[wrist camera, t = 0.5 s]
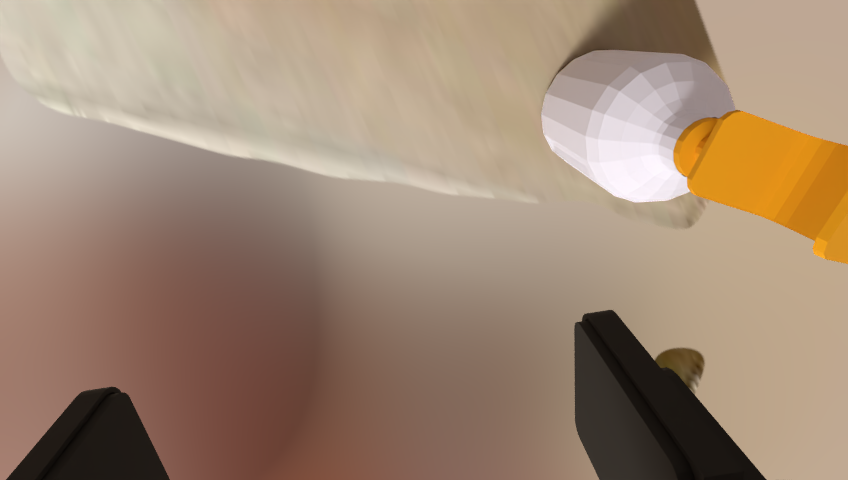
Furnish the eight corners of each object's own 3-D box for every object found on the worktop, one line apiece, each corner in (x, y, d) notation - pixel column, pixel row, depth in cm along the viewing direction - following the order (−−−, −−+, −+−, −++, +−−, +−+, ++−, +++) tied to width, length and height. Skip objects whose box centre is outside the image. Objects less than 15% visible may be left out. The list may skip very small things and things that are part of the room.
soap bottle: (567, 33, 36) (868, 29, 14) (671, 71, 38) (1093, 125, 15) (522, 147, 39) (706, 297, 17) (619, 178, 41) (906, 353, 18)
